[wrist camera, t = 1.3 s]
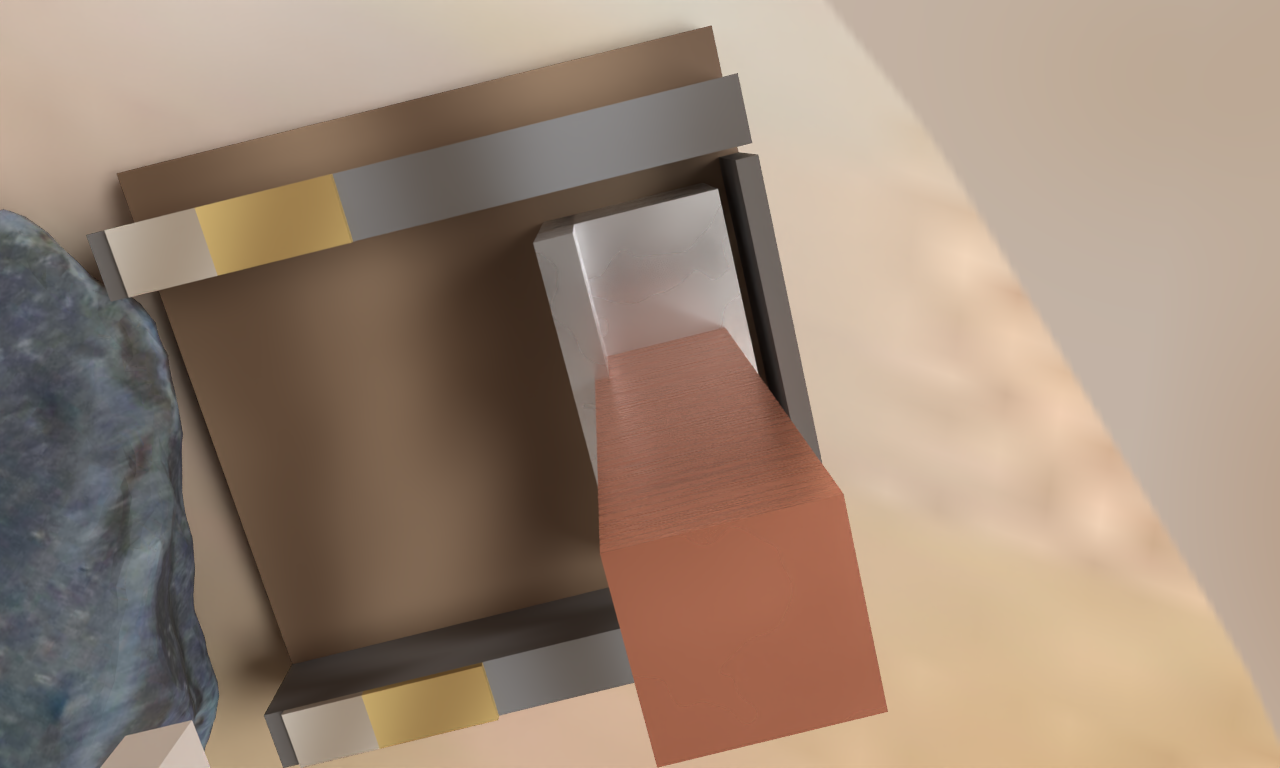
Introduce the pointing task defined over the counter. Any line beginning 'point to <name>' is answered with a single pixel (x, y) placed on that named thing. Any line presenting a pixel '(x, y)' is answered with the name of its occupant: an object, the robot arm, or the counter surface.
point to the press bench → (431, 374)
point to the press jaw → (703, 487)
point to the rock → (89, 519)
